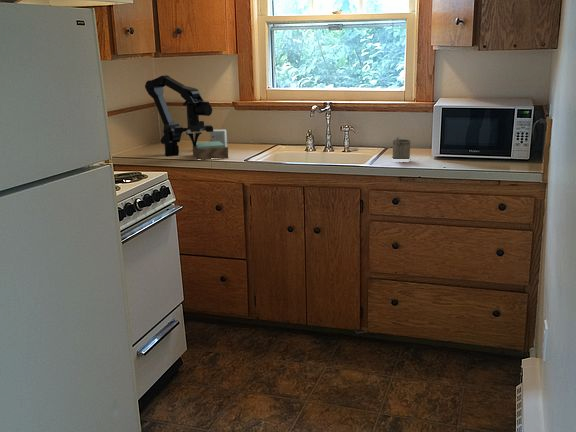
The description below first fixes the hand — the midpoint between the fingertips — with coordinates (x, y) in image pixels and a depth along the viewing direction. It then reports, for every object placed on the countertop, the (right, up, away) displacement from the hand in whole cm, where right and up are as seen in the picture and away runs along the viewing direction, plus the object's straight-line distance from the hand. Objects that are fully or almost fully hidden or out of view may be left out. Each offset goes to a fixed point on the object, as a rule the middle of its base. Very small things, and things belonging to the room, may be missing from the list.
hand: (194, 146), depth 311 cm
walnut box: (+7, -5, +4) cm, 10 cm away
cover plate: (+7, 0, +2) cm, 7 cm away
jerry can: (+99, -9, -15) cm, 101 cm away
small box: (+10, +1, +24) cm, 25 cm away
